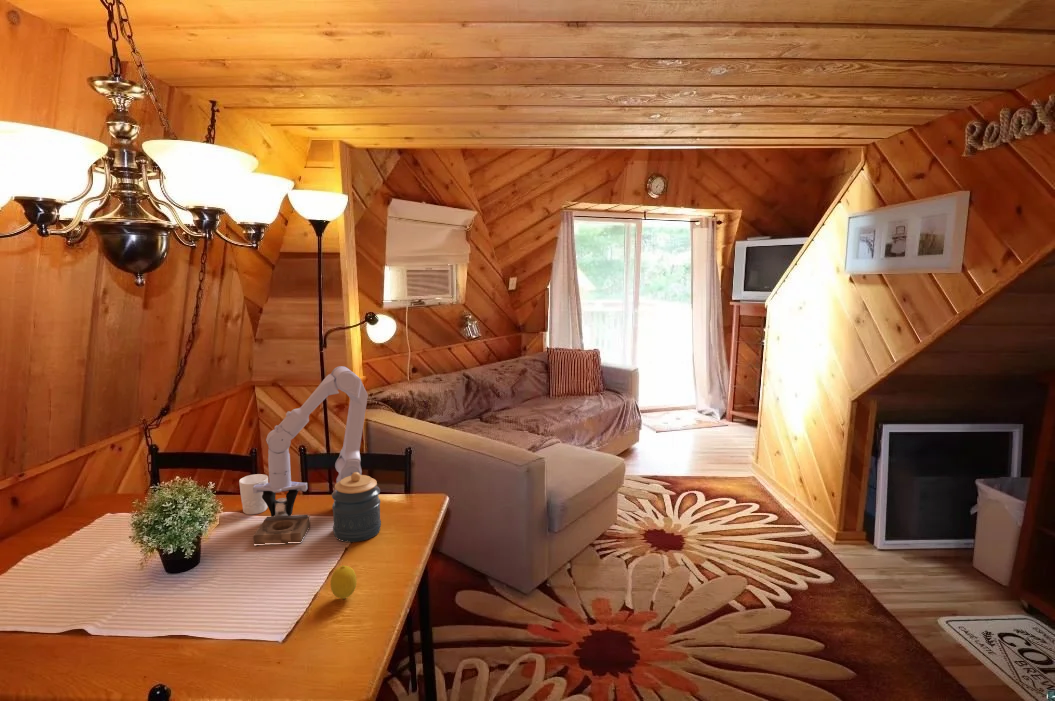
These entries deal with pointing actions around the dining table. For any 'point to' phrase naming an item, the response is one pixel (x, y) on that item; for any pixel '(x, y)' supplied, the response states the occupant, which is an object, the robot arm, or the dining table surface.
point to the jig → (282, 529)
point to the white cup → (252, 494)
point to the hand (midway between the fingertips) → (281, 514)
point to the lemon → (343, 582)
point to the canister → (356, 508)
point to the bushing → (281, 507)
